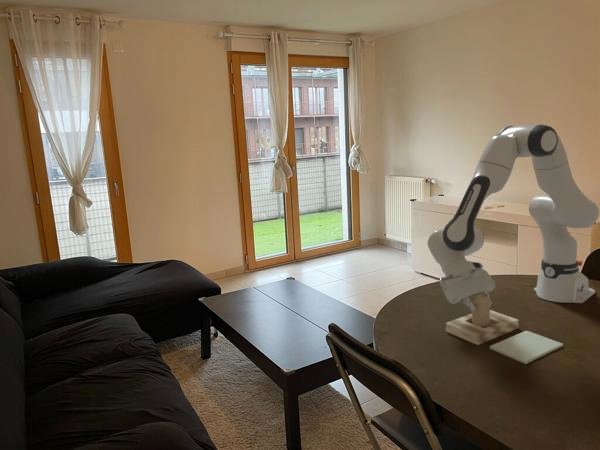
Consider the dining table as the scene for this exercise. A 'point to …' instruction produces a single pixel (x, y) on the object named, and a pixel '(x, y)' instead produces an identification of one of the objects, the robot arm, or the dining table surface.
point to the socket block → (480, 335)
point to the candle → (481, 311)
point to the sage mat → (526, 346)
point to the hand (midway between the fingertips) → (482, 307)
